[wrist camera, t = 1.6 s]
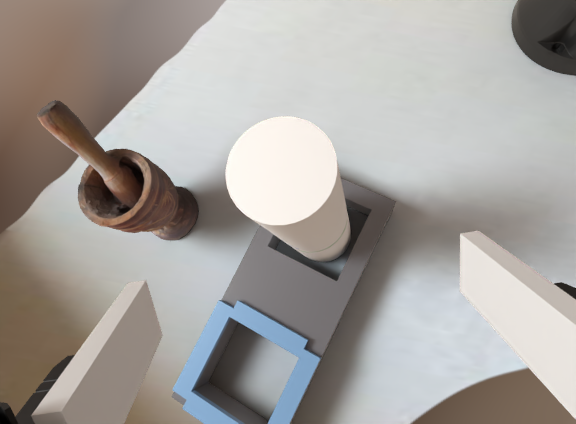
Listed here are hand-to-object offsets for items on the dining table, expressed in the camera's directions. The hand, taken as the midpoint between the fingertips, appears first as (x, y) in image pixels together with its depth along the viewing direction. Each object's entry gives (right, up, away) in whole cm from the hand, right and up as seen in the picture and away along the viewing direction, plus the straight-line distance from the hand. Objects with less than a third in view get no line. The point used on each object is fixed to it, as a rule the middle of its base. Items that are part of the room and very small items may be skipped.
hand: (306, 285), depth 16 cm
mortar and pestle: (-18, +4, +37) cm, 41 cm away
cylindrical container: (+4, 0, +32) cm, 32 cm away
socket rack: (-1, -8, +31) cm, 32 cm away
